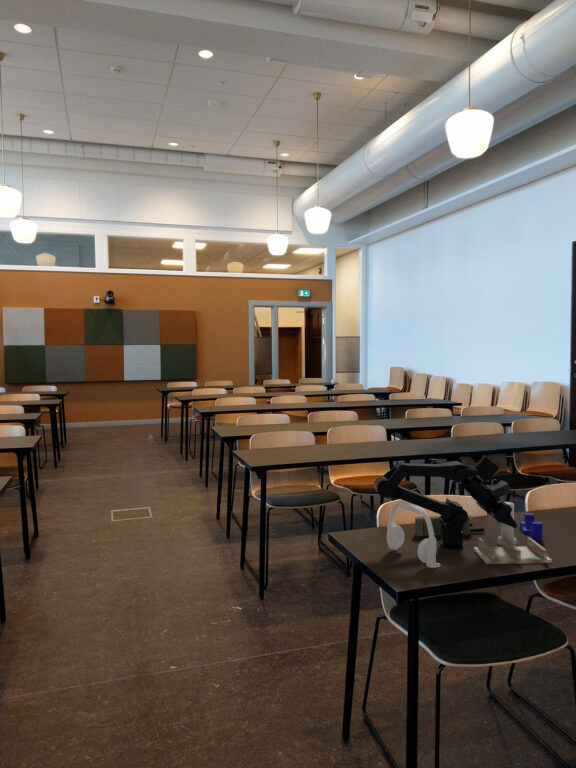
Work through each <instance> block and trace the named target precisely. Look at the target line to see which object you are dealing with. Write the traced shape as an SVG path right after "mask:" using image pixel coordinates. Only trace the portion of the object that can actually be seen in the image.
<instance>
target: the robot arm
mask: <svg viewBox="0 0 576 768" xmlns="http://www.w3.org/2000/svg"><path fill="white" fill-rule="evenodd" d="M500 470H501V468H500V467H499V466H498V465H497V464H496V463H495V462H493V461H492V460H491V459H489V458H488V456H486V455H483V456H481V458H480V460H479V461H478V462H476V464H475V465H473V466H472V465H468V464H463V463H462V462H460V461H457V460H453V461H446V462H443V463H437V464H436V463H435V464H434V463H412V462H411V463H407V462H406V463H405V462H402V461H401V462H399V463H397V464H396V465H394V466H393V467H392V468H391V469H389V470H388V471H386V472H385V473H384V474H383V475H380V476H378V477H377V478H375V480H374V481H373V486H374V487H373V488H374V489H375V491H376V492H377V494H378V495H379V496H380V497H381V498H386V499H391V500H402V501H403V502H407V503H411V504H414V505H416V506H419V507H421V508H422V509H424V510H427V511H430V512H433V513H435V514H438V515H439V516H440V517H439V520H440V522H441V524H442V525H443V526H441V535H440V540H438V541H439V544H440V545H441V547H442V548H443V549H463V548H464V535H463V532H462V531H461V530H462V528H463V525H464V524H465V523H466V522H467V520H468V515H469V514H468V512H467V511H466V510H465V509H464V507H463V506H462V505H461V504H460V503H459V502H458V501H454V500H451V499H449V498H447V497H446V499H445V501H440V500H437V499H435V498H432V497H430V496H428V495H427V496H426V495H424V494H421V493H419V492H416V491H413V490H411V489H408V488H405V487H403V486H401V485H400V484H401V483H402V481H404V479H405V478H406V477H427V478H428V477H434V478H443V479H446V480H451V481H454V482H455V485H456V486H455V490H456V491H458V493H462V491H463V490H464V491H465V492H467V493H468V495H470V497H471V498H472V499H473V500H474V501H475V503H476V505H477V506H479V507H480V508H481V509H482V510H483V511H484V512H487V513H488V514H490V516H491V517H492V518H493V519H494V520H495V521H496V522H498V523H499V524H501V523H503V524H506V525H508V526H511V527H513V528H514V529H517V528H518V524H517V523H516V521H515V518H514V519H513V518H512V516H511V512H512V508H511V507H510V506H509V505H508V504H507V503H505V502H506V501H500V500H501V497H503V496H506V495H509V494H511V493H512V490H511V487H510V486H509V483H508V482H506V481H504V480H500V481H499V480H498V479H496V478H494V477H495V476H496V475H497V474H498V473H499V471H500ZM477 477H478V478H477ZM493 478H494V479H493ZM479 479H480V480H479ZM490 480H491V481H490ZM489 481H490V482H491V484H490V486H489V487H488V486H487V485H485V484H484V483H483V482H489ZM499 501H500V502H499Z"/></svg>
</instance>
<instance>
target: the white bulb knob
mask: <svg viewBox="0 0 576 768" xmlns="http://www.w3.org/2000/svg"><path fill="white" fill-rule="evenodd" d="M504 502H505V503H507V504H508V505H509V506H510V507H511V508H512V512H511V516H512V518H513V519H514V520H515V503H513V502H510V501H504ZM514 529H515V528H513V527H511V526H508V525H506V524H503V523H500V536H497V545H498V546H499V547H503V538H507V539H508V540H509V541H510V542H511V543H512V544H514V545H515V546H516V547H518V538H517V537H515V531H514Z"/></svg>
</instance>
